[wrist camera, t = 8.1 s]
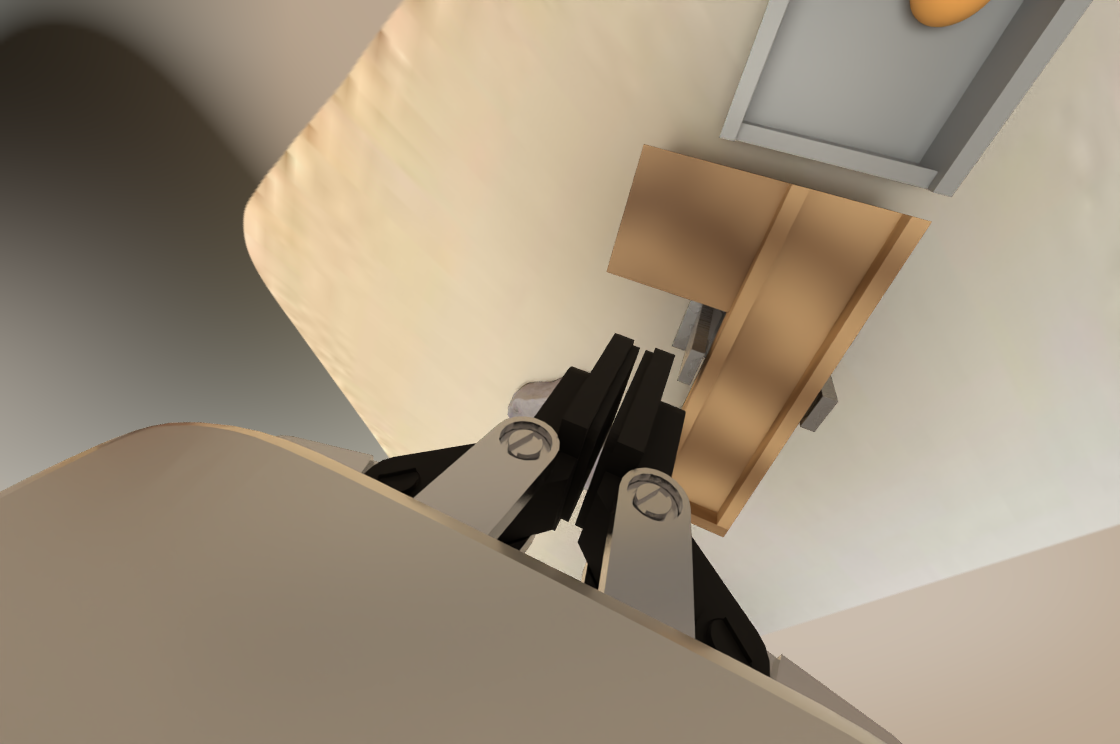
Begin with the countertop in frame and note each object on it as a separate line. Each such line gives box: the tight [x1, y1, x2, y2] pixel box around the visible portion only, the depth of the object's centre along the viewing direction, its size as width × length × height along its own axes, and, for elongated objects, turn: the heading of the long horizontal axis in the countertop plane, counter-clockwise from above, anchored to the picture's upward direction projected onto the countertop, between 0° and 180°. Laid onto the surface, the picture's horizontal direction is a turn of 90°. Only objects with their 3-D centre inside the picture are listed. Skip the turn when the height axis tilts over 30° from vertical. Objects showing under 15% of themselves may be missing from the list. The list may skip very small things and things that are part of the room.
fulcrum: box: [672, 300, 838, 432], centre depth 28 cm, size 6×10×8 cm, turn 78°
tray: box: [719, 0, 1093, 197], centre depth 18 cm, size 11×11×6 cm
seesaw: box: [607, 144, 931, 537], centre depth 27 cm, size 22×14×4 cm, turn 169°
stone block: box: [508, 378, 611, 490], centre depth 41 cm, size 12×5×10 cm
